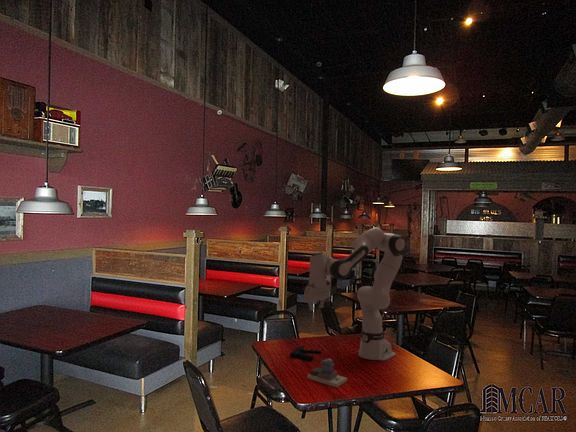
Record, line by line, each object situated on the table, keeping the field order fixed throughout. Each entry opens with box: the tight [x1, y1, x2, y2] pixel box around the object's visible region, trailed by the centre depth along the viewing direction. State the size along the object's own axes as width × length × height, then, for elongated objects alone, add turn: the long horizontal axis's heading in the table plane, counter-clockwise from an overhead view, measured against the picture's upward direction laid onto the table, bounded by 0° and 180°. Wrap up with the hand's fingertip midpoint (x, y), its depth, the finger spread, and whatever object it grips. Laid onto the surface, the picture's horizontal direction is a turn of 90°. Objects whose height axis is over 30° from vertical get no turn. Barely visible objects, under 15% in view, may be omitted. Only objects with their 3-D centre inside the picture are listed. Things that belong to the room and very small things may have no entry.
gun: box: [289, 345, 322, 362], centre depth 231 cm, size 24×3×15 cm
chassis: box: [306, 367, 348, 388], centre depth 192 cm, size 16×10×4 cm, turn 53°
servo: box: [320, 358, 335, 374], centre depth 192 cm, size 6×3×8 cm, turn 53°
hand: (316, 308), depth 215 cm, fingers open, 8 cm apart
